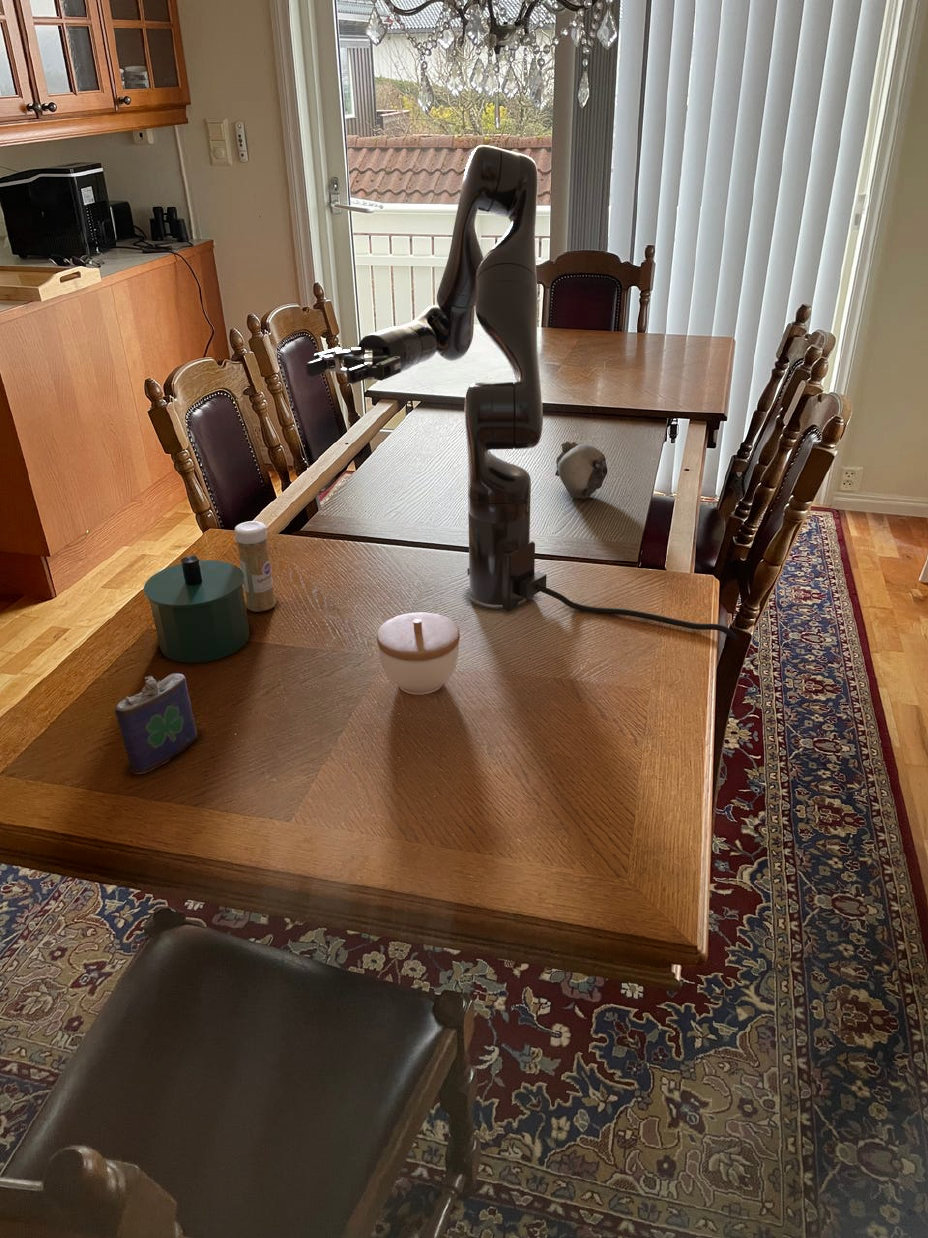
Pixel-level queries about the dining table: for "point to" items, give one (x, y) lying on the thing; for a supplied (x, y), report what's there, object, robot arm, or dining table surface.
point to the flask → (156, 723)
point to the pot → (202, 629)
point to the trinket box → (419, 651)
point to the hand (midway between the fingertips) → (328, 373)
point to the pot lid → (193, 583)
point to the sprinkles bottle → (255, 565)
